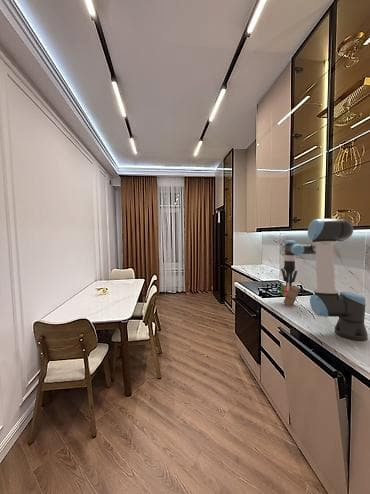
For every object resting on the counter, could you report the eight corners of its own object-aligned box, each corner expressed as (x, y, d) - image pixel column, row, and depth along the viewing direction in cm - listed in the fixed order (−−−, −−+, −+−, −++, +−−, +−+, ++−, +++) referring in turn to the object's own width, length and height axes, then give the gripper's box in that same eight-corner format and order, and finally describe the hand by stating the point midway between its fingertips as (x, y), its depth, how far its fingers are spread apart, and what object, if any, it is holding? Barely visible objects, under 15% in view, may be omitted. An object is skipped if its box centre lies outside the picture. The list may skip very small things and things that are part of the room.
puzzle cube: (295, 297, 206) (295, 285, 205) (282, 296, 207) (283, 285, 207) (292, 294, 215) (292, 283, 214) (280, 293, 217) (280, 282, 216)
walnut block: (289, 306, 182) (296, 289, 178) (283, 302, 186) (290, 286, 181) (293, 304, 187) (300, 288, 182) (287, 300, 190) (294, 284, 186)
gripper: (300, 260, 181) (299, 291, 183) (283, 259, 191) (282, 288, 193) (296, 261, 176) (295, 293, 178) (279, 260, 186) (278, 290, 188)
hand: (288, 290), depth 186 cm, fingers closed
